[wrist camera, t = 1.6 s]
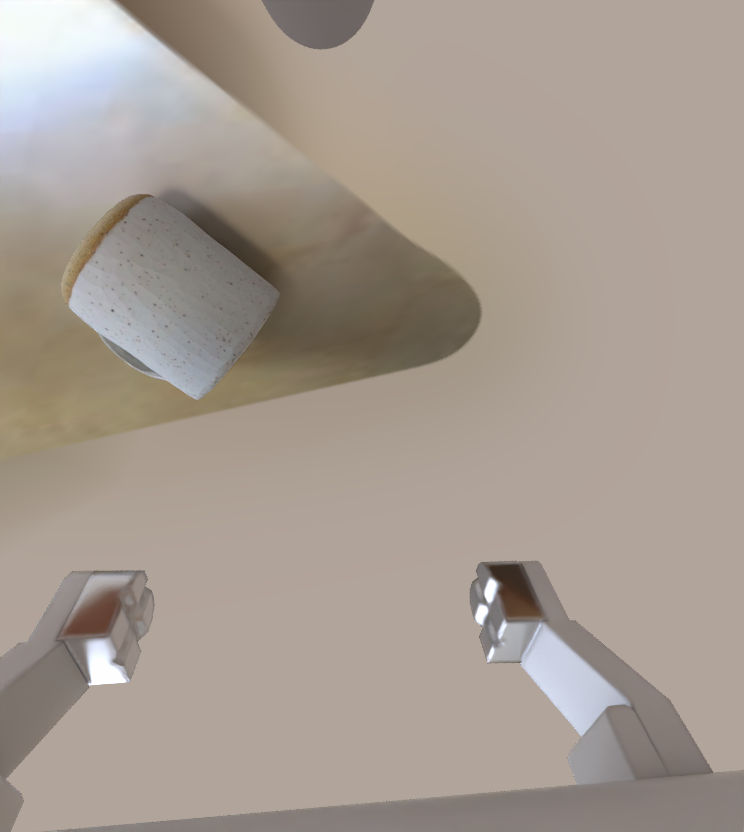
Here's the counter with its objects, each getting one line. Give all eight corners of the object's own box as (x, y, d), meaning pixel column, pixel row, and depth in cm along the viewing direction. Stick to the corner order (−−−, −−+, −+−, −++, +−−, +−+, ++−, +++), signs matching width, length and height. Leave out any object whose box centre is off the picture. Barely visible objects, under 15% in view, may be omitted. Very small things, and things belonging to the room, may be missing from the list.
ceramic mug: (160, 171, 22) (91, 194, 16) (288, 276, 26) (273, 328, 20) (76, 316, 26) (-5, 380, 20) (197, 389, 30) (160, 463, 24)
